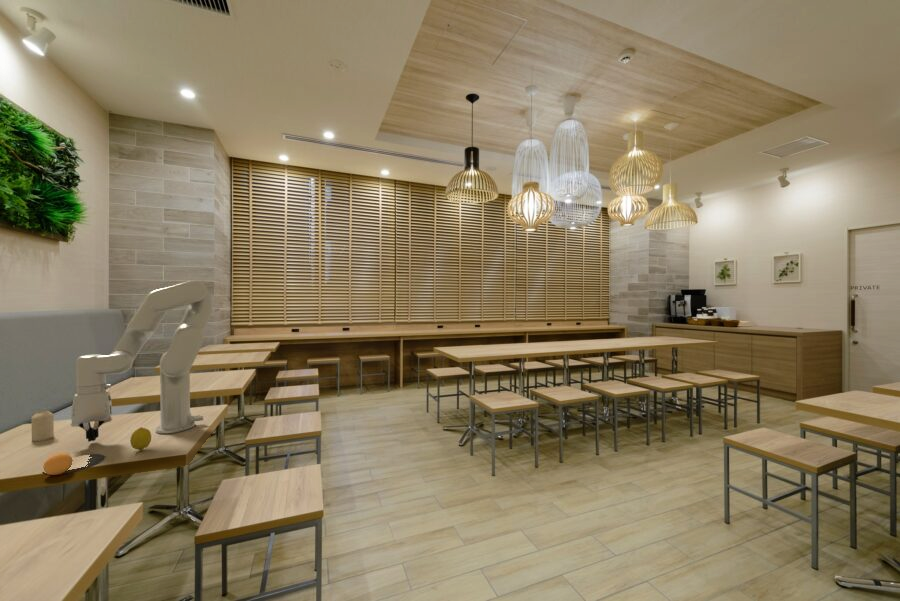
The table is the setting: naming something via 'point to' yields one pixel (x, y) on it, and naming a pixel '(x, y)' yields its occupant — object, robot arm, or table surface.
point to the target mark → (93, 461)
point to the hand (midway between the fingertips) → (92, 439)
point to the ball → (57, 464)
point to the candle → (42, 426)
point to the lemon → (140, 438)
